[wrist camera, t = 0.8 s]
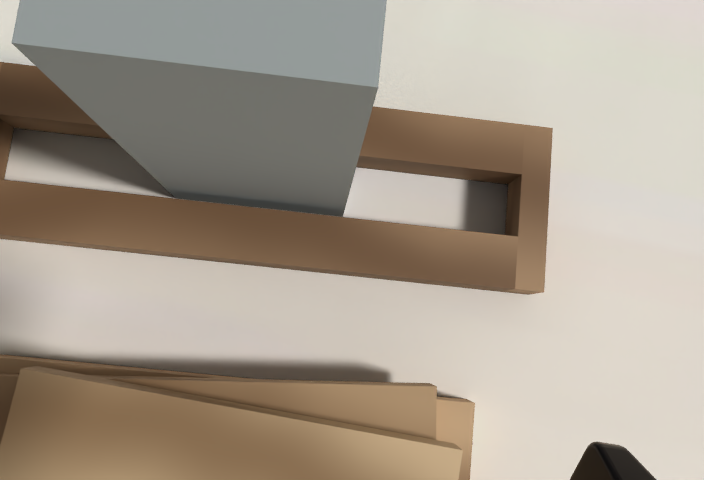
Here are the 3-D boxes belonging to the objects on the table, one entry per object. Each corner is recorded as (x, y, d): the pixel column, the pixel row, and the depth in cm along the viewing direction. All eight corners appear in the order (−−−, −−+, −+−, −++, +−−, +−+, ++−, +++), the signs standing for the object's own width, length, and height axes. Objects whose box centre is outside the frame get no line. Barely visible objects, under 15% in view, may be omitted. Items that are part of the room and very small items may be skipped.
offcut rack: (514, 547, 21) (551, 588, 17) (-89, 496, 20) (-168, 529, 16) (537, 141, 23) (574, 110, 20) (-6, 76, 22) (-61, 32, 19)
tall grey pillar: (342, 216, 22) (378, 87, 10) (175, 198, 22) (11, 42, 10) (347, 174, 22) (386, -2, 10) (182, 155, 22) (29, -48, 10)
